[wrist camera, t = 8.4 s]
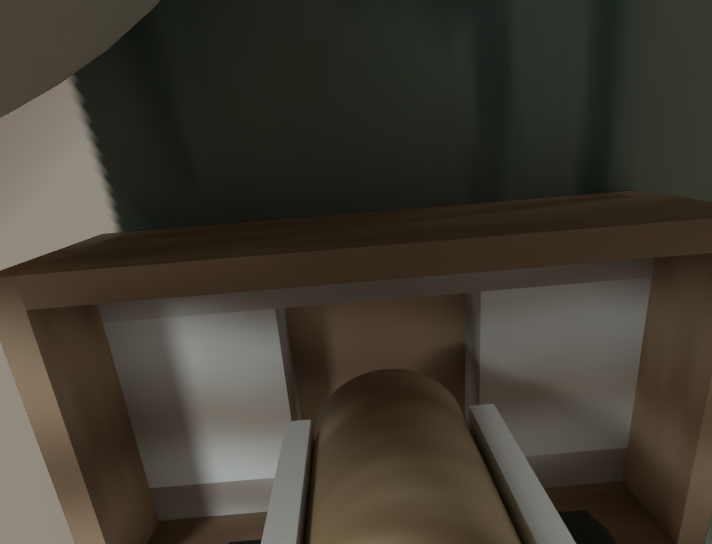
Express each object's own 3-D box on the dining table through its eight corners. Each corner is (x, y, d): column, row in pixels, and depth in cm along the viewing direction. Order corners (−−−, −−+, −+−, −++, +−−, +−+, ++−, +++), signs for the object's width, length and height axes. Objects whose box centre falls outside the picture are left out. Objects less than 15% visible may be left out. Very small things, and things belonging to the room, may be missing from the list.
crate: (102, 233, 17) (-23, 278, 11) (632, 190, 17) (780, 212, 11) (169, 485, 21) (101, 616, 15) (601, 449, 21) (699, 564, 15)
